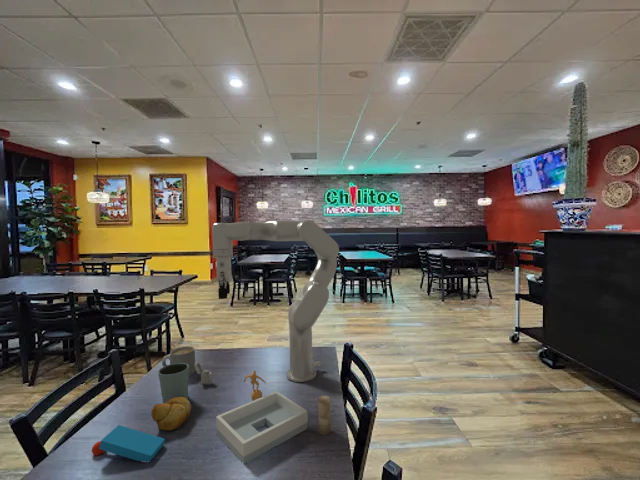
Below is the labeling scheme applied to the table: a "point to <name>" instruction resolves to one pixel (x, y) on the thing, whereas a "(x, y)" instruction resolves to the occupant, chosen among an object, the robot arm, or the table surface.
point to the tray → (244, 420)
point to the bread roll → (171, 413)
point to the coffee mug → (182, 357)
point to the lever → (129, 444)
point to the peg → (324, 414)
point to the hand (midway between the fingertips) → (224, 296)
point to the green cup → (174, 381)
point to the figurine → (256, 393)
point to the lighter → (204, 375)
